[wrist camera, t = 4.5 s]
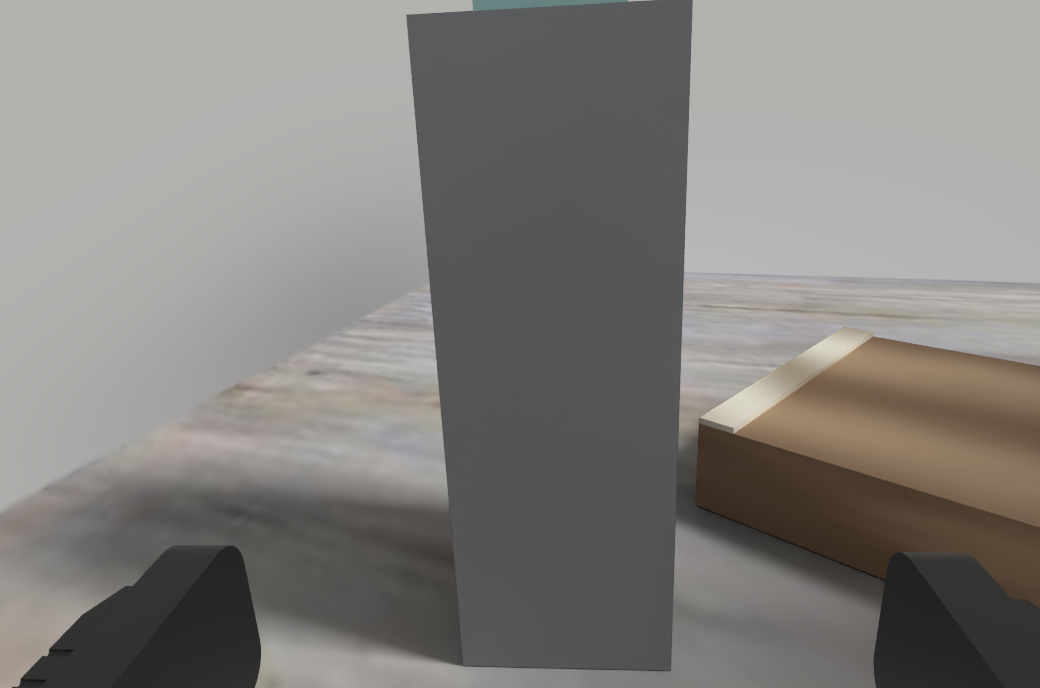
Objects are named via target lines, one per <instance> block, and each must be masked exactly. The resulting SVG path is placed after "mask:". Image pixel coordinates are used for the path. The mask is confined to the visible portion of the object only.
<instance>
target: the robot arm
mask: <svg viewBox="0 0 1040 688" xmlns="http://www.w3.org/2000/svg"><path fill="white" fill-rule="evenodd" d="M260 661H261V644H260V638H259V633H258V628H257V623H256V618H255V613H254V608H253V604H252V599H251V594H250V589H249V584H248V579H247V574H246V570H245V565H244V561H243V557H242V555H241V553H240V551H239V550H238V549H237V548H236V547H234V546H187V545H176V546H172V547H170V548H169V549H167V550H166V551H165V552H164V553H163V554H162V555H161V556H160V557H159V558H158V559H157V560H156V562H155V563H154V564H153V565H152V566H151V567H150V568H149V569H148V570H147V571H146V572H145V574H144V575H143V576H142V577H141V578H140V579H139V580H138V581H137V582H136V583H135V584H134V585H133V586H125V587H124V588H122V589H121V590H119V591H118V592H116V593H115V594H113V595H112V596H110V597H109V598H107V599H106V600H104V601H103V602H101V603H100V604H98V605H97V606H95V607H93V608H92V609H90V610H89V611H87V612H86V613H84V614H83V615H82V616H81V617H80V618H79V619H78V620H77V621H76V622H75V623H74V624H73V625H72V626H71V627H70V628H69V629H68V630H67V631H66V632H65V633H64V634H63V635H62V636H61V638H60V639H59V640H58V641H57V642H56V643H55V644H54V645H53V646H52V647H51V648H50V649H49V654H48V656H42V657H41V658H40V659H39V660H38V661H37V662H36V663H35V664H34V665H33V666H32V668H31V669H30V670H29V671H28V672H27V673H26V674H25V675H24V676H23V677H22V678H21V682H20V685H19V686H18V687H12V688H255V685H256V682H257V678H258V674H259V668H260ZM874 675H875V682H876V688H1040V608H1038V607H1037V606H1035V605H1034V604H1032V603H1031V602H1029V601H1028V600H1026V599H1010V597H1009V596H1008V595H1007V594H1006V593H1005V592H1004V591H1003V589H1002V588H1001V587H1000V586H999V585H998V584H997V583H996V581H995V580H994V579H993V578H992V577H991V576H990V575H989V574H988V572H987V571H986V570H985V569H984V568H983V567H982V566H981V564H980V563H979V562H978V561H977V560H976V559H975V558H974V557H972V556H971V555H969V554H967V553H926V552H897V553H895V554H894V555H893V556H892V557H891V558H890V560H889V563H888V567H887V572H886V579H885V585H884V592H883V599H882V606H881V612H880V619H879V626H878V632H877V639H876V646H875V653H874Z"/></svg>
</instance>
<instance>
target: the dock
mask: <svg viewBox="0 0 1040 688" xmlns="http://www.w3.org/2000/svg"><path fill="white" fill-rule="evenodd" d="M696 505H697V506H700V507H702V508H705V509H707V510H710V511H712V512H715V513H717V514H720V515H722V516H725V517H728V518H730V519H733V520H735V521H738V522H740V523H743V524H745V525H748V526H750V527H753V528H755V529H758V530H760V531H763V532H765V533H768V534H770V535H773V536H775V537H778V538H781V539H783V540H786V541H788V542H791V543H793V544H796V545H798V546H801V547H803V548H806V549H808V550H811V551H813V552H816V553H818V554H821V555H823V556H826V557H828V558H831V559H833V560H836V561H839V562H841V563H844V564H846V565H849V566H851V567H854V568H856V569H859V570H861V571H864V572H866V573H869V574H871V575H874V576H876V577H879V578H881V579H884V580H885V579H886V572H887V567H888V563H889V560H890V558H891V557H892V556H893V555H894V554H895V553H897V552H926V553H967V554H969V555H971V556H972V557H974V558H975V559H976V560H977V561H978V562H979V563H980V564H981V566H982V567H983V568H984V569H985V570H986V571H987V572H988V574H989V575H990V576H991V577H992V578H993V579H994V580H995V581H996V583H997V584H998V585H999V586H1000V587H1001V588H1002V589H1003V591H1004V592H1005V593H1006V594H1007V595H1008V596H1009V597H1010V599H1026V600H1028V601H1029V602H1031V603H1032V604H1034V605H1035V606H1037V607H1038V608H1040V366H1035V365H1030V364H1024V363H1018V362H1013V361H1007V360H1002V359H996V358H990V357H985V356H979V355H973V354H968V353H962V352H957V351H951V350H945V349H940V348H934V347H928V346H923V345H917V344H912V343H906V342H900V341H895V340H889V339H883V338H878V337H873V332H870V331H864V330H858V329H853V328H847V327H844V328H842V329H840V330H839V331H837V332H836V333H834V334H832V335H831V336H829V337H828V338H826V339H824V340H823V341H821V342H820V343H818V344H816V345H815V346H813V347H812V348H810V349H808V350H807V351H805V352H804V353H802V354H800V355H799V356H797V357H796V358H794V359H792V360H791V361H789V362H788V363H786V364H784V365H783V366H781V367H780V368H778V369H776V370H775V371H773V372H772V373H770V374H768V375H767V376H765V377H764V378H762V379H760V380H759V381H757V382H756V383H754V384H752V385H751V386H749V387H748V388H746V389H744V390H743V391H741V392H740V393H738V394H736V395H735V396H733V397H732V398H730V399H728V400H727V401H725V402H724V403H722V404H720V405H719V406H717V407H716V408H714V409H712V410H711V411H709V412H708V413H706V414H704V415H703V416H701V417H700V418H699V437H698V460H697V483H696Z"/></svg>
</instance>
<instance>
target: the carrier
mask: <svg viewBox="0 0 1040 688" xmlns="http://www.w3.org/2000/svg"><path fill="white" fill-rule="evenodd" d="M692 1H693V0H652V1H635V2H617V3H600V4H583V5H566V6H549V7H532V8H515V9H498V10H480V11H464V12H447V13H429V14H415V15H406V16H407V27H408V38H409V51H410V61H411V74H412V85H413V96H414V107H415V119H416V130H417V142H418V154H419V165H420V176H421V186H422V198H423V210H424V222H425V234H426V245H427V257H428V268H429V278H430V291H431V302H432V314H433V325H434V337H435V348H436V359H437V371H438V382H439V394H440V405H441V417H442V428H443V440H444V451H445V462H446V474H447V485H448V497H449V508H450V520H451V531H452V542H453V554H454V565H455V577H456V588H457V600H458V611H459V623H460V634H461V645H462V657H463V666H490V667H533V668H576V669H620V670H663V671H671V648H672V618H673V587H674V556H675V525H676V495H677V464H678V433H679V402H680V372H681V341H682V310H683V279H684V248H685V247H684V246H685V218H686V187H687V186H686V185H687V155H688V154H687V153H688V125H689V124H688V123H689V95H690V63H691V33H692Z"/></svg>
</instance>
